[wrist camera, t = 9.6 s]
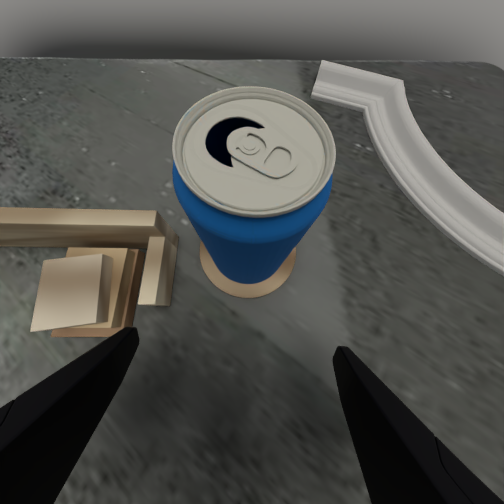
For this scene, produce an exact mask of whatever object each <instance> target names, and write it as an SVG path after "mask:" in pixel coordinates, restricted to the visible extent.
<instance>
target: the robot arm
mask: <svg viewBox="0 0 504 504" xmlns="http://www.w3.org/2000/svg"><path fill="white" fill-rule="evenodd" d="M138 345H139V336H138V331H137V328H136V327H129V326H127V327H124V328H123V329H121V330H120V331H118V332H117V333H115V334H114V335H112V336H110V337H109V338H107V339H106V340H104V341H103V342H101V343H100V344H98V345H97V346H95V347H94V348H92V349H90V350H89V351H87V352H86V353H84V354H83V355H81V356H80V357H78V358H77V359H75V360H74V361H72V362H70V363H69V364H67V365H66V366H64V367H63V368H61V369H60V370H58V371H57V372H55V373H54V374H52V375H50V376H49V377H47V378H46V379H44V380H43V381H41V382H40V383H38V384H37V385H35V386H33V387H32V388H30V389H29V390H27V391H26V392H24V393H23V394H21V395H20V396H18V397H17V398H16V399H15V400H12V401H10V402H9V403H7V404H6V405H4V406H3V407H1V408H0V504H54V502H55V500H56V498H57V497H58V495H59V493H60V491H61V489H62V488H63V486H64V484H65V482H66V481H67V479H68V477H69V475H70V473H71V472H72V470H73V468H74V466H75V465H76V463H77V461H78V459H79V458H80V456H81V454H82V452H83V450H84V449H85V447H86V445H87V443H88V442H89V440H90V438H91V436H92V434H93V433H94V431H95V429H96V427H97V426H98V424H99V422H100V420H101V418H102V417H103V415H104V413H105V411H106V410H107V408H108V406H109V404H110V402H111V401H112V399H113V397H114V395H115V394H116V392H117V390H118V388H119V386H120V385H121V383H122V381H123V379H124V376H125V374H126V372H127V370H128V368H129V365H130V363H131V361H132V359H133V356H134V354H135V352H136V350H137V348H138ZM333 367H334V372H335V377H336V381H337V386H338V391H339V396H340V400H341V404H342V408H343V411H344V414H345V417H346V421H347V424H348V427H349V431H350V434H351V437H352V440H353V444H354V447H355V450H356V454H357V457H358V460H359V463H360V467H361V470H362V473H363V477H364V480H365V483H366V486H367V490H368V493H369V496H370V499H371V503H372V504H504V502H503V501H502V500H501V499H500V498H499V497H498V496H497V495H496V494H495V493H494V492H492V491H491V490H490V489H489V488H488V487H487V486H486V485H485V484H484V483H483V482H482V481H481V480H480V479H479V478H478V477H477V476H476V475H474V474H473V473H472V472H471V471H470V470H469V469H468V468H467V467H466V466H465V465H464V464H463V463H462V462H461V461H460V460H459V459H458V458H457V457H456V456H455V455H454V454H453V453H452V452H451V451H450V450H449V449H448V448H447V447H446V446H445V445H444V444H443V443H442V442H441V441H440V440H439V439H438V438H437V437H435V436H434V434H433V433H432V432H431V431H430V430H429V429H428V428H427V427H426V426H425V425H424V424H423V423H422V422H421V421H420V420H419V419H418V418H417V417H416V416H415V415H414V414H413V413H412V412H411V410H410V409H409V408H408V407H407V406H406V405H405V404H404V403H403V402H402V401H401V400H400V399H399V398H398V397H397V396H396V395H395V394H394V393H393V392H392V391H391V390H390V389H389V388H388V387H387V386H386V385H385V384H384V383H383V382H382V381H381V380H380V379H379V378H378V377H377V376H376V375H375V374H374V373H373V372H372V371H371V370H370V369H369V368H368V367H367V366H366V365H365V364H364V363H363V362H362V361H361V360H360V359H359V358H358V357H357V356H356V355H355V354H354V353H353V352H352V351H351V350H350V349H349V348H348V347H345V346H338V347H337V349H336V351H335V354H334V356H333Z"/></svg>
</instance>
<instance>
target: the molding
mask: <svg viewBox="0 0 504 504" xmlns="http://www.w3.org/2000/svg"><path fill="white" fill-rule="evenodd" d="M310 98H312V99H316V100H319V101H323V102H327V103H331V104H334V105H338V106H342V107H346V108H349V109H353V110H357V111H361V112H363V117H364V121H365V125H366V128H367V131H368V134H369V137H370V139H371V142H372V144H373V146H374V148H375V150H376V152H377V154H378V156H379V158H380V160H381V161H382V163H383V165H384V167H385V168H386V170H387V171H388V173H389V174H390V176H391V177H392V179H393V180H394V181H395V183H396V184H397V185H398V187H399V188H400V189H401V190H402V192H403V193H404V194H405V195H406V197H407V198H408V199H409V200H410V201H411V202H412V203H413V205H414V206H415V207H416V208H417V209H418V210H419V211H420V212H421V213H422V214H423V215H424V216H425V217H426V218H427V219H428V220H429V221H430V222H431V223H432V224H433V225H434V226H436V227H437V228H438V229H439V230H440V231H441V232H442V233H443V234H445V235H446V236H447V237H448V238H449V239H451V240H452V241H453V242H454V243H456V244H457V245H458V246H459V247H461V248H462V249H463V250H465V251H466V252H467V253H469V254H470V255H472V256H473V257H474V258H476V259H477V260H479V261H480V262H482V263H483V264H485V265H486V266H488V267H489V268H491V269H493V270H494V271H496V272H497V273H499V274H501V275H502V276H504V213H502V212H501V211H499V210H498V209H497V208H495V207H494V206H493V205H491V204H490V203H489V202H487V201H486V200H485V199H484V198H482V197H481V196H480V195H479V194H477V193H476V192H475V191H474V190H473V189H471V188H470V187H469V186H468V185H467V184H466V183H465V182H464V181H463V180H462V179H461V178H459V177H458V176H457V175H456V174H455V173H454V172H453V171H452V170H451V169H450V168H449V166H448V165H447V164H446V163H445V162H444V161H443V160H442V159H441V157H440V156H439V155H438V154H437V153H436V151H435V150H434V149H433V148H432V146H431V145H430V144H429V142H428V141H427V139H426V138H425V136H424V135H423V133H422V132H421V130H420V128H419V127H418V125H417V123H416V121H415V119H414V117H413V115H412V113H411V110H410V108H409V105H408V102H407V99H406V95H405V88H404V84H403V80H400V79H396V78H392V77H388V76H384V75H380V74H376V73H372V72H368V71H364V70H360V69H356V68H352V67H348V66H344V65H340V64H336V63H332V62H328V61H324V60H322V62H321V65H320V69H319V72H318V75H317V78H316V82H315V85H314V88H313V91H312V94H311V97H310Z"/></svg>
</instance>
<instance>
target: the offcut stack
mask: <svg viewBox="0 0 504 504" xmlns="http://www.w3.org/2000/svg"><path fill="white" fill-rule="evenodd" d="M144 257H145V253H143V252H142V251H140V250H138V249H128V248H75V247H68V251H67V254H66V257H65V258H60V259H51V260H44V262H43V267H42V272H41V278H40V283H39V288H38V293H37V299H36V304H35V309H34V314H33V319H32V325H31V330H30V332H34V331H46V330H53V331H52V334H51V337H110V336H112V335H114V334H115V333H117V332H118V331H120V330H121V329H123V328H124V327H127V326H129V327H132V324H133V318H134V313H135V307H136V301H137V296H138V290H139V285H140V279H141V273H142V268H143V262H144Z"/></svg>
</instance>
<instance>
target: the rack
mask: <svg viewBox="0 0 504 504" xmlns="http://www.w3.org/2000/svg"><path fill="white" fill-rule="evenodd" d="M178 239H179V237H178V236H177V234H176V233H175V232H174V231H173V230H172V228H171V227H170V226H169V225H168V224H167V223H166V221H165V220H164V219H163V218H162V217H161V215H160V214H159V213H158V212H157V211H147V210H100V209H53V208H6V207H0V246H2V247H75V248H146V249H147V255H146V260H145V266H144V272H143V277H142V283H141V289H140V294H139V300H138V304H140V305H150V306H170V303H171V295H172V287H173V279H174V271H175V263H176V255H177V247H178Z"/></svg>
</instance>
